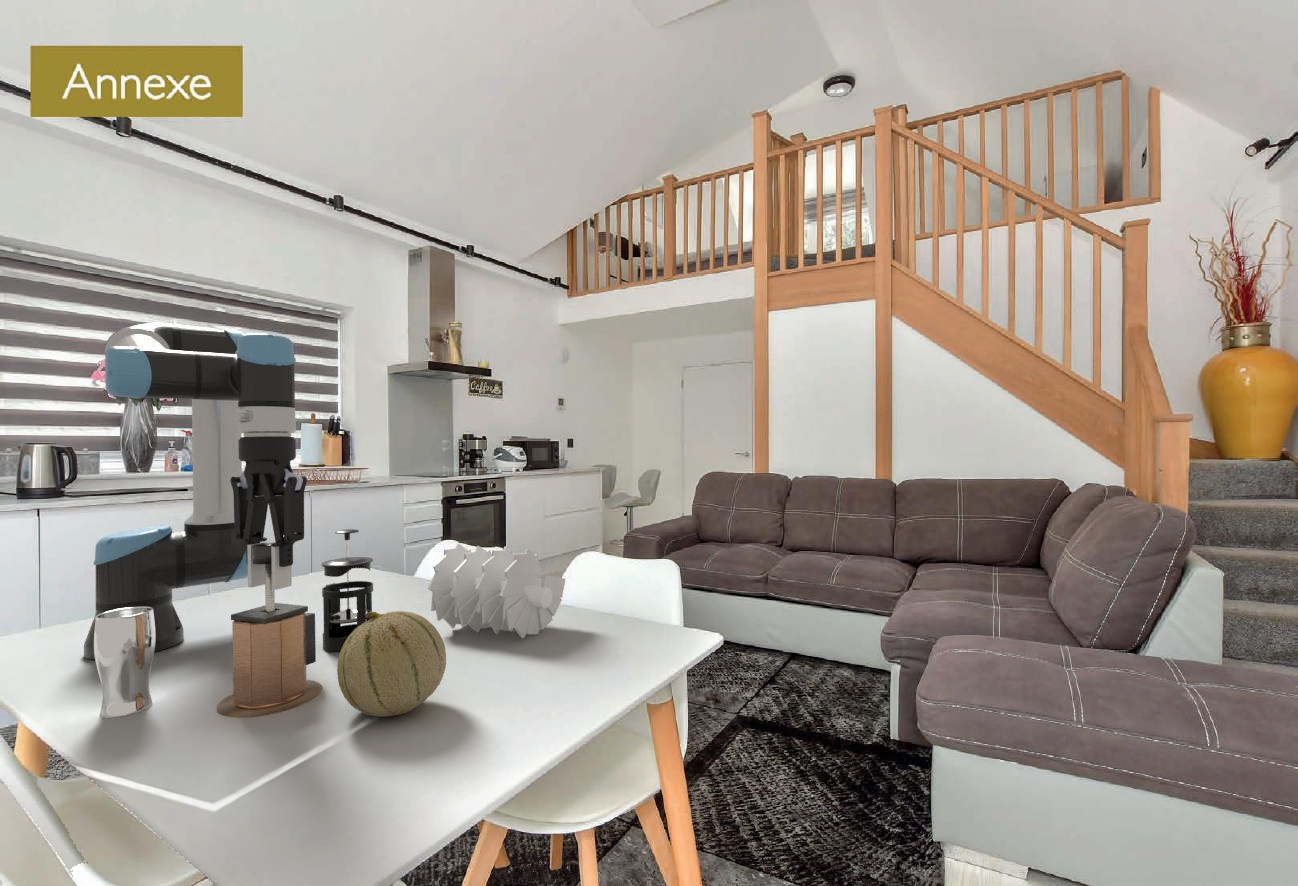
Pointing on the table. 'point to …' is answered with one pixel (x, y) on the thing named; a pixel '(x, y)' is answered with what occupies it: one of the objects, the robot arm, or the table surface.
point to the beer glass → (124, 659)
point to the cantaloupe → (391, 663)
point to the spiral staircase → (494, 590)
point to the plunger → (263, 556)
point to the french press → (332, 595)
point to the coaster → (231, 710)
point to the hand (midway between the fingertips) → (269, 586)
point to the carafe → (271, 655)
